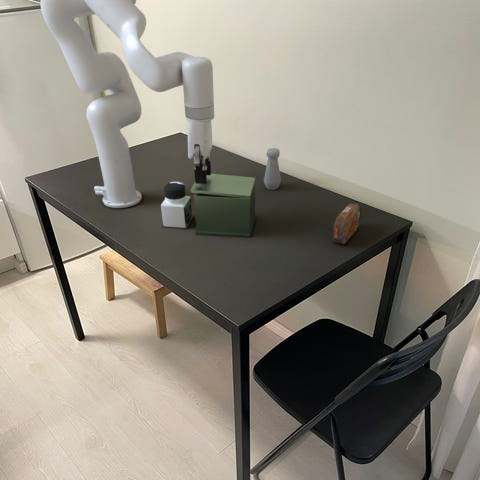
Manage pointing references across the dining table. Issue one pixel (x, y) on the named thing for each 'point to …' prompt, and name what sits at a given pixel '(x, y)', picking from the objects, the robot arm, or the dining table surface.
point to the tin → (347, 223)
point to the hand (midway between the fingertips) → (203, 178)
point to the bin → (224, 214)
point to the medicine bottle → (176, 206)
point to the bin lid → (225, 185)
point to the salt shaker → (272, 170)
